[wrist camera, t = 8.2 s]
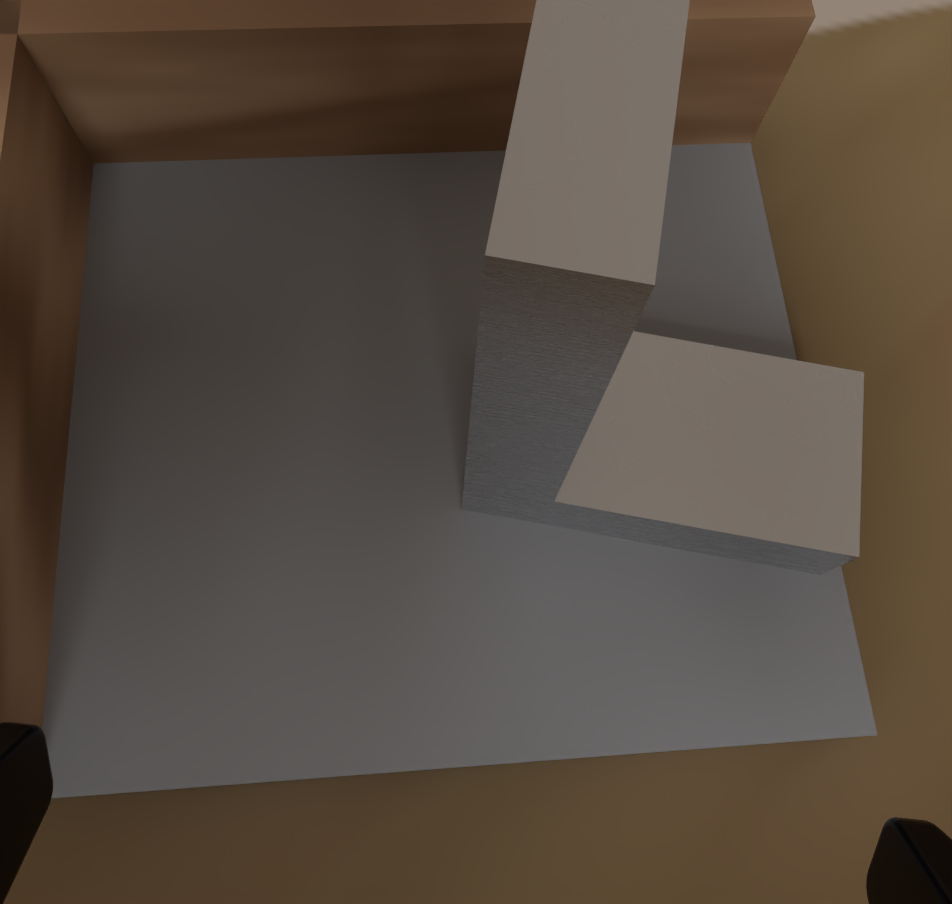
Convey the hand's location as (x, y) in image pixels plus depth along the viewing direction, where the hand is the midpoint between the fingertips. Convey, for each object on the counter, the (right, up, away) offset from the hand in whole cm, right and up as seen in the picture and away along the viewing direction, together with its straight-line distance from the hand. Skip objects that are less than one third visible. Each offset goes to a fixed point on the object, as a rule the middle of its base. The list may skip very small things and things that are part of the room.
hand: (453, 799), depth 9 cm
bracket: (+4, +4, +10) cm, 11 cm away
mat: (-1, +5, +11) cm, 12 cm away
